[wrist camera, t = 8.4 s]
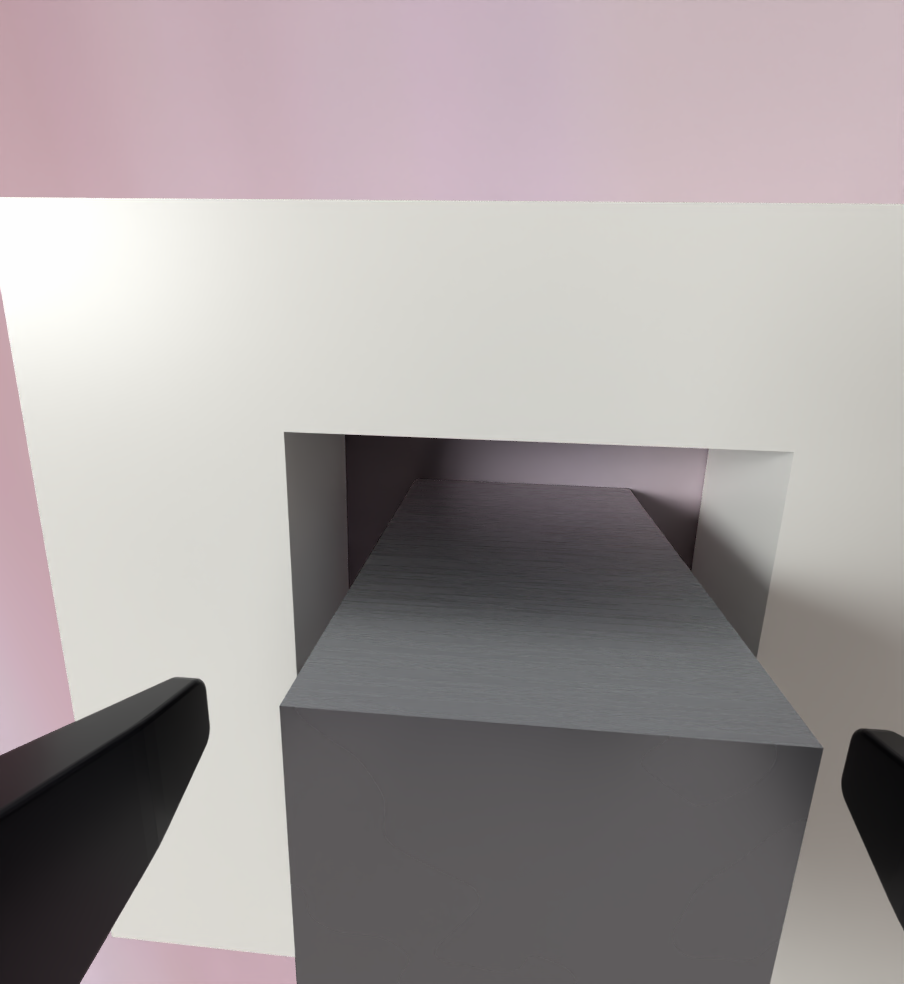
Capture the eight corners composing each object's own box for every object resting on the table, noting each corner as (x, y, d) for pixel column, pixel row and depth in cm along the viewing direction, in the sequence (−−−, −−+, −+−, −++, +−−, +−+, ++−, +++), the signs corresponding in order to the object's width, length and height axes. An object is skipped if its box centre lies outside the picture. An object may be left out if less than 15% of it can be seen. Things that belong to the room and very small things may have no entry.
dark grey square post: (628, 488, 12) (823, 748, 5) (608, 677, 14) (737, 1126, 6) (416, 478, 13) (279, 705, 5) (414, 663, 14) (302, 1069, 6)
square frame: (984, 244, 11) (1203, 205, 7) (831, 865, 14) (929, 1028, 11) (132, 233, 12) (-16, 197, 9) (196, 806, 16) (111, 936, 12)
